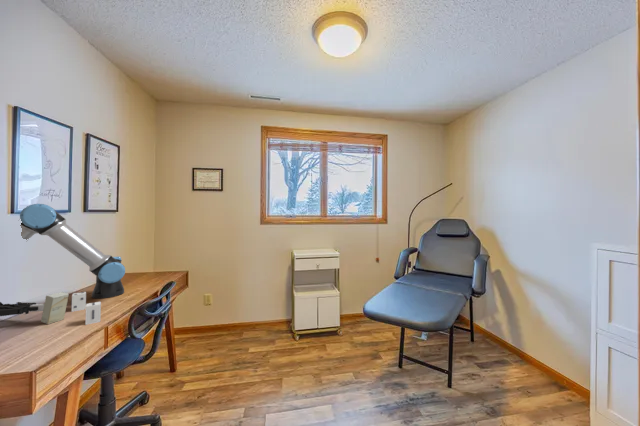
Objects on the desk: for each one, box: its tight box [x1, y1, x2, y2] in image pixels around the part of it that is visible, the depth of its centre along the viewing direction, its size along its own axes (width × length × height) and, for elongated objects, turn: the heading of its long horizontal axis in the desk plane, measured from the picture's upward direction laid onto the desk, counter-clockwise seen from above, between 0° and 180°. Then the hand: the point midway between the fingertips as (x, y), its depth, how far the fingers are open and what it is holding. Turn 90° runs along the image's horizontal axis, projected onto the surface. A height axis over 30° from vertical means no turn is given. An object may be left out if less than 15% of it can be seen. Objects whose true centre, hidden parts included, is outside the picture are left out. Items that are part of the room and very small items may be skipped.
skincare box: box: [40, 291, 69, 325], centre depth 114 cm, size 6×4×12 cm
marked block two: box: [71, 291, 87, 312], centre depth 129 cm, size 5×5×8 cm
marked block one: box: [84, 301, 102, 326], centre depth 114 cm, size 5×5×8 cm
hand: (48, 307), depth 114 cm, fingers closed
